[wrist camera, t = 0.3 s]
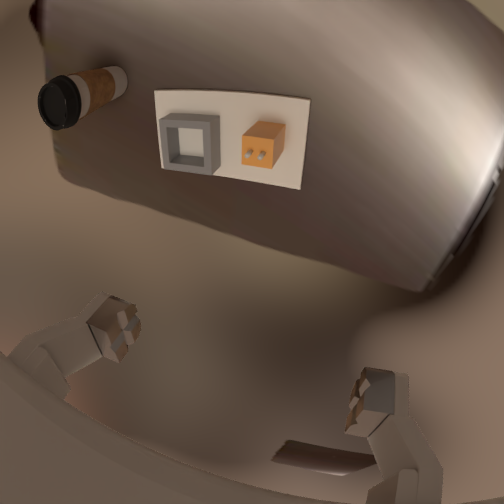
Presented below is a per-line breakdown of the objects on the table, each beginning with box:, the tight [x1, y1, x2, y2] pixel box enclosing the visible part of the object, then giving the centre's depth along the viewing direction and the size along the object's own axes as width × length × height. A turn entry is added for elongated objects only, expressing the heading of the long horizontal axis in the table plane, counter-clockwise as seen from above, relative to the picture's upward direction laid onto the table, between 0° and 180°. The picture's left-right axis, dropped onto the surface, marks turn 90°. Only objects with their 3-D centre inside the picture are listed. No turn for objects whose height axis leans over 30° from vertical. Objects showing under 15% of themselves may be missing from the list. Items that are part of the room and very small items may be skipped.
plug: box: [241, 121, 286, 169], centre depth 39 cm, size 4×4×9 cm
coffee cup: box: [38, 66, 128, 130], centre depth 38 cm, size 8×8×15 cm
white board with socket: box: [154, 89, 311, 190], centre depth 43 cm, size 14×24×4 cm, turn 88°
